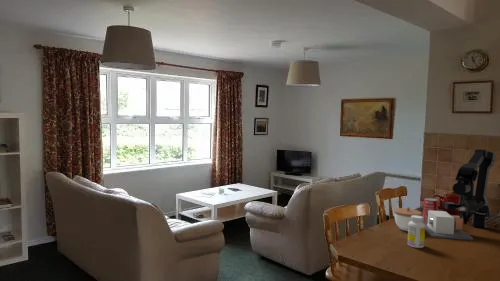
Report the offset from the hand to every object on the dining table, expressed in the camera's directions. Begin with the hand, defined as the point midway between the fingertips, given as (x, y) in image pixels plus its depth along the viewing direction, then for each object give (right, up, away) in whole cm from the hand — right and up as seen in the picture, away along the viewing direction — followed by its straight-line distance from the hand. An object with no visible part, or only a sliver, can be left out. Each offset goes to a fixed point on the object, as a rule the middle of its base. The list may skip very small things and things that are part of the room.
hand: (464, 224), depth 177 cm
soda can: (-9, -4, +17) cm, 19 cm away
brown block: (-9, -2, +2) cm, 9 cm away
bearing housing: (-9, -4, +2) cm, 10 cm away
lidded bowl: (-26, -4, +5) cm, 27 cm away
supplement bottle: (-33, -5, -19) cm, 38 cm away
